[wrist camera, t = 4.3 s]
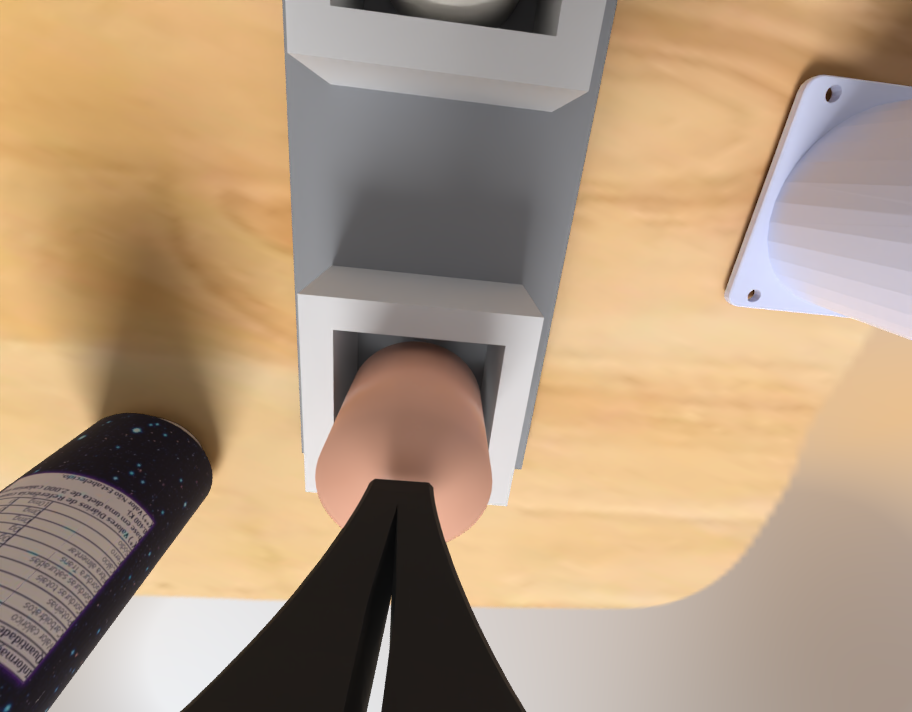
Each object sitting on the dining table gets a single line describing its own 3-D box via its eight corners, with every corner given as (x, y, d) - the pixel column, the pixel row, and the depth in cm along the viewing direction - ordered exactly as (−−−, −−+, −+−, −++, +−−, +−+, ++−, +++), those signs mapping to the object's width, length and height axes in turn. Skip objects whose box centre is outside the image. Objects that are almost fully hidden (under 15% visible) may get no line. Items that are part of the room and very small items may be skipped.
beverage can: (71, 422, 20) (-413, 745, 9) (180, 387, 19) (-188, 686, 8) (143, 512, 22) (-169, 863, 11) (243, 484, 21) (22, 824, 10)
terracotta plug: (488, 347, 14) (504, 416, 10) (472, 459, 16) (480, 554, 12) (351, 335, 14) (312, 400, 10) (350, 450, 15) (317, 544, 11)
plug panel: (655, -235, 12) (788, -497, 7) (518, 456, 21) (538, 537, 16) (282, -302, 11) (165, -634, 7) (308, 439, 20) (267, 519, 16)
